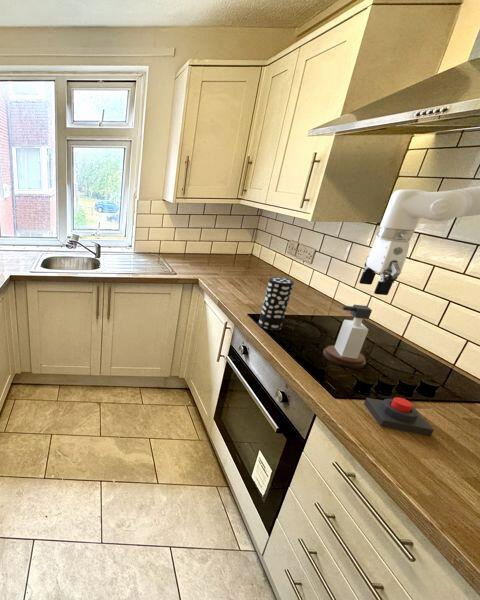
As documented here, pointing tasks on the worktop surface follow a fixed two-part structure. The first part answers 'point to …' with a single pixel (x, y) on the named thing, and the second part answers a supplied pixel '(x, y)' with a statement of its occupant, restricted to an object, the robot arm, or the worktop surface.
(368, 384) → the worktop surface
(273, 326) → the spotted tube
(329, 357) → the base
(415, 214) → the robot arm
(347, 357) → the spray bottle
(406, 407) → the button
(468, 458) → the worktop surface
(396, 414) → the grey stepped base
